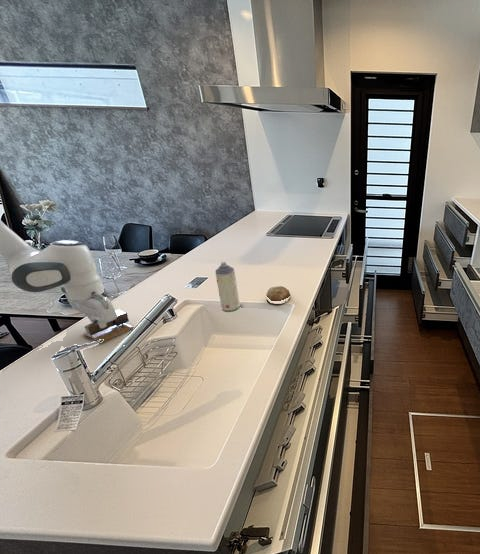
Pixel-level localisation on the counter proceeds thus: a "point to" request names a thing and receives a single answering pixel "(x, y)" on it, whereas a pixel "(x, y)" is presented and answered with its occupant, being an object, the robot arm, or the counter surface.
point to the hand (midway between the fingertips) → (99, 325)
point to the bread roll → (278, 293)
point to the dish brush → (94, 328)
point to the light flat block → (110, 332)
